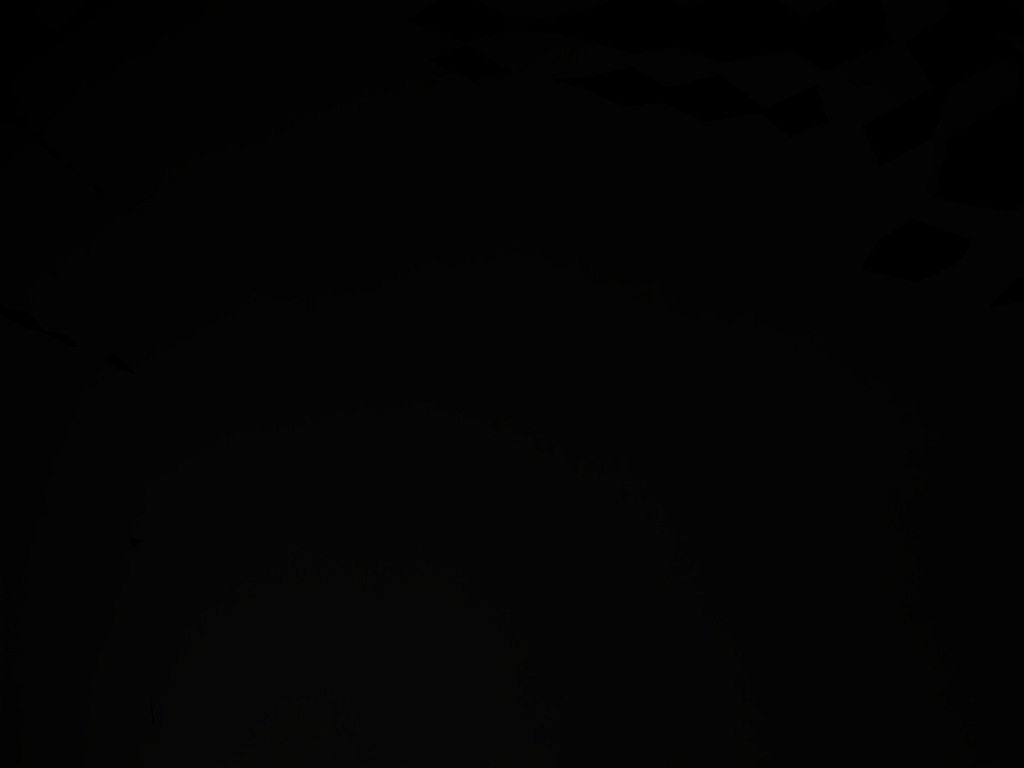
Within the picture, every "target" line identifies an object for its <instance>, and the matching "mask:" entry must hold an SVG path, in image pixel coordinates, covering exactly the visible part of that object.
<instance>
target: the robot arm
mask: <svg viewBox="0 0 1024 768" xmlns="http://www.w3.org/2000/svg"><path fill="white" fill-rule="evenodd" d="M0 768H1024V0H0Z"/></svg>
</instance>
